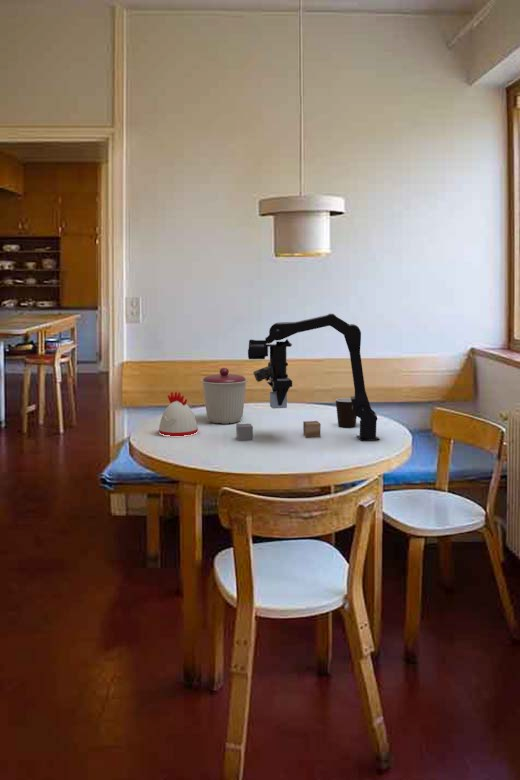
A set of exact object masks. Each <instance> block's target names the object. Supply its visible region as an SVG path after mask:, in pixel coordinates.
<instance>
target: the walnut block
mask: <svg viewBox="0 0 520 780" xmlns="http://www.w3.org/2000/svg"><path fill="white" fill-rule="evenodd" d="M302 423H303V424H302V426H303V428H302V429H303V430H302V431H303V432H302V433H303V434H302V435H303V437H305V439H314V438H315V439H317V438H319V439H320V438H321V423H320V422H319V421H318V420H311V421H310V420H309V421H308V420H307V421H303V422H302Z"/></svg>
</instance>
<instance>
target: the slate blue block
mask: <svg viewBox="0 0 520 780" xmlns="http://www.w3.org/2000/svg"><path fill="white" fill-rule="evenodd" d="M269 407H270V408H271V409H274V410H275V409H287V408H288V393H287V394H286V396H285V398H284V401H283V403H282V405H278V401H277V395H276V392H273V391H269Z"/></svg>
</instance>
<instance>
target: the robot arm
mask: <svg viewBox="0 0 520 780" xmlns="http://www.w3.org/2000/svg"><path fill="white" fill-rule="evenodd" d="M325 327H331V328H333V329H334V330H336V331H338V333H340V334H342V335H343V337H344V340H345V343H346V346H347V349H348V352H349V358H350V367H351V373H352V381H353V388H354V396H350V398H351V402H352V411H354V412H355V414H356V416H357V418H358V419H360V420H359V435H356V437H355V438H358V439H359V440H360V441H363V442H364V441H366V442H367V441H380V438H379V437H378V436H377V421H378V416H377V413H376V412H375V411H374V410H373V409H372V407H371V404H370V401H369V398H368V395H367V392H366V385H365V378H364V371H363V364H362V357H361V346H362V345H361V344H362V341H361V340H362V332H361V329H360V327H359V326H357V325H356V324H354V323H351V324H349V323H348V322H346V321H345V320H343V319H341V318H339V317H338V316H337V315H335V313H328V314H325V315H320V316H317V317H311V318H308V319H303V320H299V321H285V322H284V321H283V322H282V321H280V322H275V323H274V324H272V325H271V326H270V328H269V332H268V333H269V334H268V335H267V336H266V337H265V339H260V340H259V339H258V340H257V339H249V340H248V348H247V358H248V360H265V359H266V357H269V361H268V362H267V366H265V367H262V368H259V369H258V370H254V371H253V372H252V373H253V376H254V378H255V382H258V383H259V382H262V381H263V380H265V381H266V383H267V384H268V385H269V386H270V387H271V389H272V390H271V392H276V395H277V401H278V405H282V403H283V401H284V398H285V396H286V394H287V395H288V392H289V389H290V388H292V387H293V380H292V379H290V378H289V374H287V367H288V362H287V348H289V347H292V345H293V344H292V343H291V342H290V341H289V339H288V337H291V336H293V335H296V334H297V333H302V332H309V331H312V330H317V329H320V328H325ZM284 339H286V340H285V341H282V340H284ZM275 341H276V343H273V342H275ZM272 343H273V344H272Z"/></svg>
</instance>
